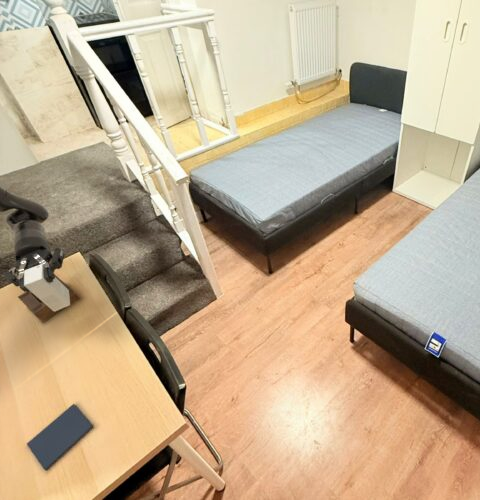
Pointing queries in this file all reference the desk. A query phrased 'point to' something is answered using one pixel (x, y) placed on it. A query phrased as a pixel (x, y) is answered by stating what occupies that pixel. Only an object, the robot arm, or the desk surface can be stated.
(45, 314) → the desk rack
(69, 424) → the mat
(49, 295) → the cosmetic box
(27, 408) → the desk surface
